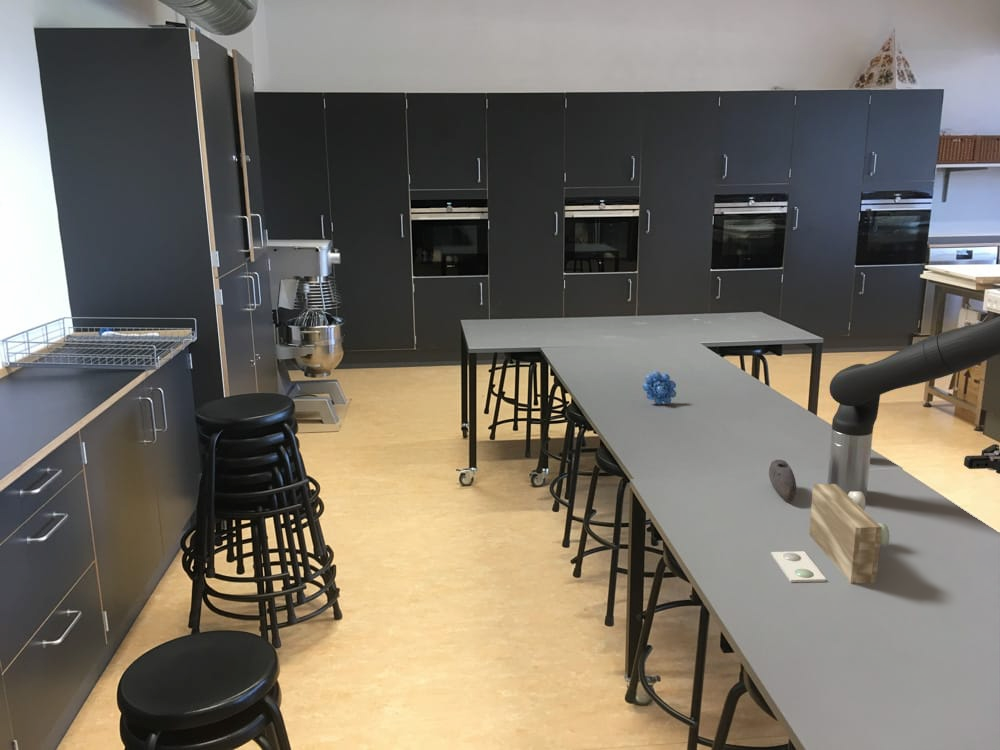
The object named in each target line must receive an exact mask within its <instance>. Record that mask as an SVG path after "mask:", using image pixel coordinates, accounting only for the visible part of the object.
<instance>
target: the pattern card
mask: <svg viewBox="0 0 1000 750" xmlns="http://www.w3.org/2000/svg"><path fill="white" fill-rule="evenodd" d="M770 555H771V556H772V557H773V560H774V561H775V562H776V563H777V565H778V566H779V568H780V570H782V572H783V573H784V575H785V576H786V577H787V580H789V582H790V583H810V582H811V583H813V582H815V583H816V582H819V583H820V582H821V583H822V582H827V578H826V577H825V576H824V574H822V571H820V570H819V568H818V567H817V565H816V564H815V563H814V562H813V561H812V559H811V558H810V557H809V556H808V554H807V553H806V552H805V551H803V550H801V551H800V550H799V551H771V552H770Z"/></svg>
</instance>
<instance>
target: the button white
mask: <svg viewBox="0 0 1000 750" xmlns="http://www.w3.org/2000/svg"><path fill="white" fill-rule="evenodd" d="M848 496H849V497H850V498H851V499H852V500H853V501H854V502H856V503H857V504H858V505H859V506H860V507H861V508H862V509H863V510H864V511H866V499H865V497H864V494H863V493H862V492H861V491H854V492H849V494H848Z"/></svg>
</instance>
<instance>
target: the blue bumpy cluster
mask: <svg viewBox="0 0 1000 750" xmlns="http://www.w3.org/2000/svg"><path fill="white" fill-rule="evenodd" d="M651 374H652V375H651ZM651 374H647V375H645V378H644V380H645V383H643V384H642V389H643V390H644V392H646V394H645V396H646V398H647V399H648V400H650V401H653V402H654V403H655V404H656V405H659V406H660V405H662V404H663V403H664V404H667V405H669V404H671V403H672V399H673V398H675V397H677V392H676V387H677V385H676V382H675V381H674V380H671V377H670V375H669V374H668V373H665V372H663V373H662V374H661V373H660V371H657V370H655V371H653V372H652V373H651Z"/></svg>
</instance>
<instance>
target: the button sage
mask: <svg viewBox="0 0 1000 750" xmlns="http://www.w3.org/2000/svg"><path fill="white" fill-rule="evenodd" d="M877 523H878V524H879V525H880V526H881V527H882V528H881V538H880V546H888V545H889V543H890V531H889V528H888V525H887V524H886V523H884V522H877Z"/></svg>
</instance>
